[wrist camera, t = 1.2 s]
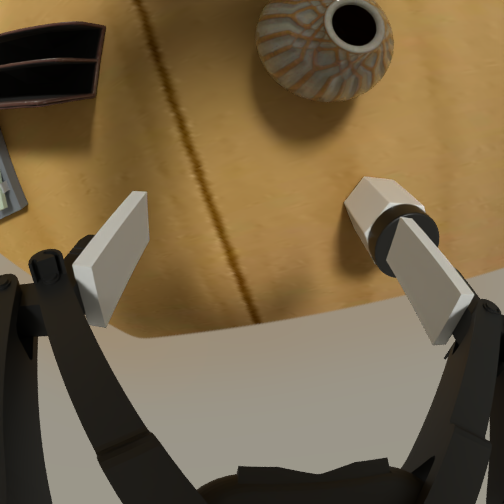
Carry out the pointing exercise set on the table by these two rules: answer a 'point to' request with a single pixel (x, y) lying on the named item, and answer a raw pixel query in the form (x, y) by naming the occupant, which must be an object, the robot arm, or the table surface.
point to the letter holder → (50, 64)
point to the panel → (9, 184)
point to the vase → (325, 46)
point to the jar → (384, 216)
